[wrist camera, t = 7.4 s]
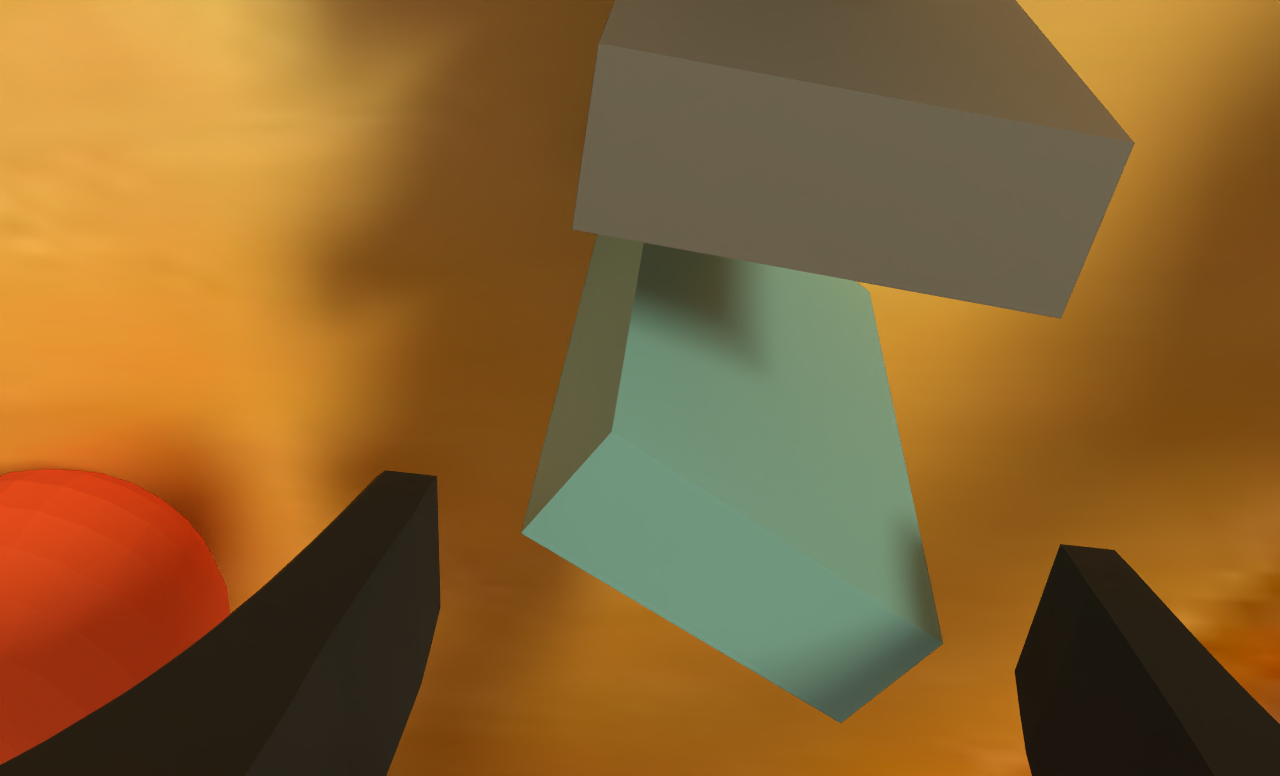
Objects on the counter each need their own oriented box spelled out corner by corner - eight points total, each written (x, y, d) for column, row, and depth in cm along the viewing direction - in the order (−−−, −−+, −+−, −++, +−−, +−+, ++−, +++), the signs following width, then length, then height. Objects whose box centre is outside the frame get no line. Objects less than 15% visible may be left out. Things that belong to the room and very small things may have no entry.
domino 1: (660, -119, 17) (598, 42, 10) (965, -61, 18) (1133, 143, 10) (641, 0, 18) (572, 229, 11) (930, 54, 19) (1061, 317, 11)
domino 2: (660, 139, 20) (611, 431, 12) (869, 291, 21) (943, 642, 13) (601, 215, 20) (521, 533, 13) (805, 357, 22) (840, 722, 14)
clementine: (270, 697, 28) (142, 975, 22) (-10, 637, 28) (-218, 903, 22) (288, 444, 24) (135, 704, 18) (-43, 368, 23) (-312, 607, 17)
